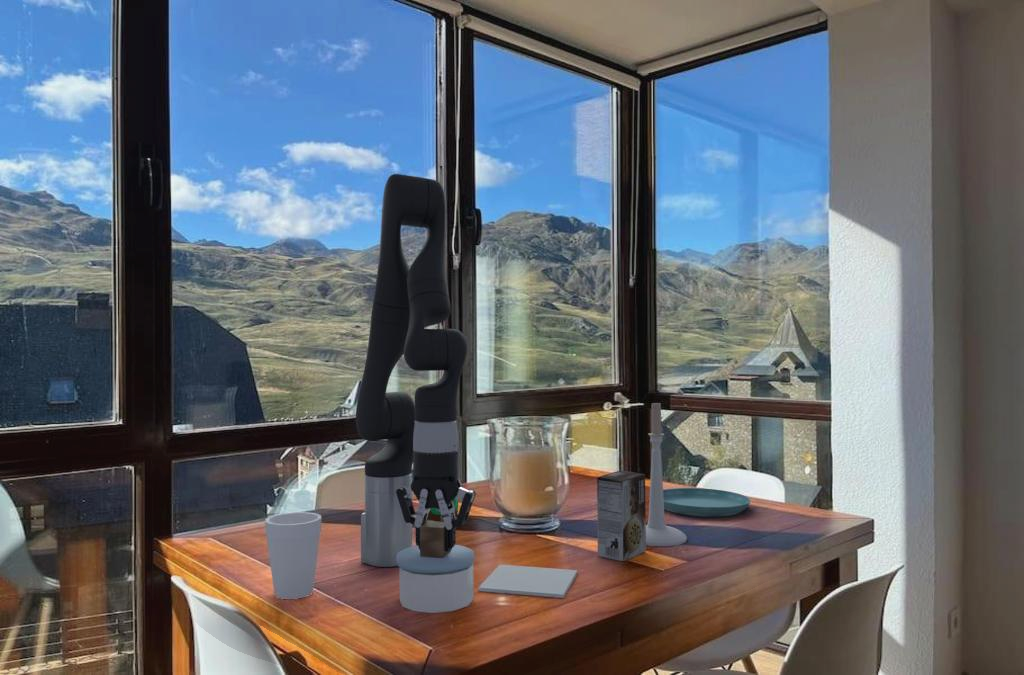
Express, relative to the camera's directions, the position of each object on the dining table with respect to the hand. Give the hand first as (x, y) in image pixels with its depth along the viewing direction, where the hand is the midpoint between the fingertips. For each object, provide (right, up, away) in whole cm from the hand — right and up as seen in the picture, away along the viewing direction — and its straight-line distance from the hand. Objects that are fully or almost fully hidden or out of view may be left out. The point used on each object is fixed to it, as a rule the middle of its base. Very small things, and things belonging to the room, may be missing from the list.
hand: (435, 548), depth 130 cm
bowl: (0, -9, 0) cm, 9 cm away
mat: (+16, -8, +9) cm, 20 cm away
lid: (0, -2, 0) cm, 2 cm away
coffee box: (+35, -9, +27) cm, 45 cm away
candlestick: (+45, -9, +39) cm, 60 cm away
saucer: (+62, -9, +69) cm, 93 cm away
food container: (-3, -9, +52) cm, 53 cm away
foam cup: (-25, -9, +3) cm, 27 cm away
